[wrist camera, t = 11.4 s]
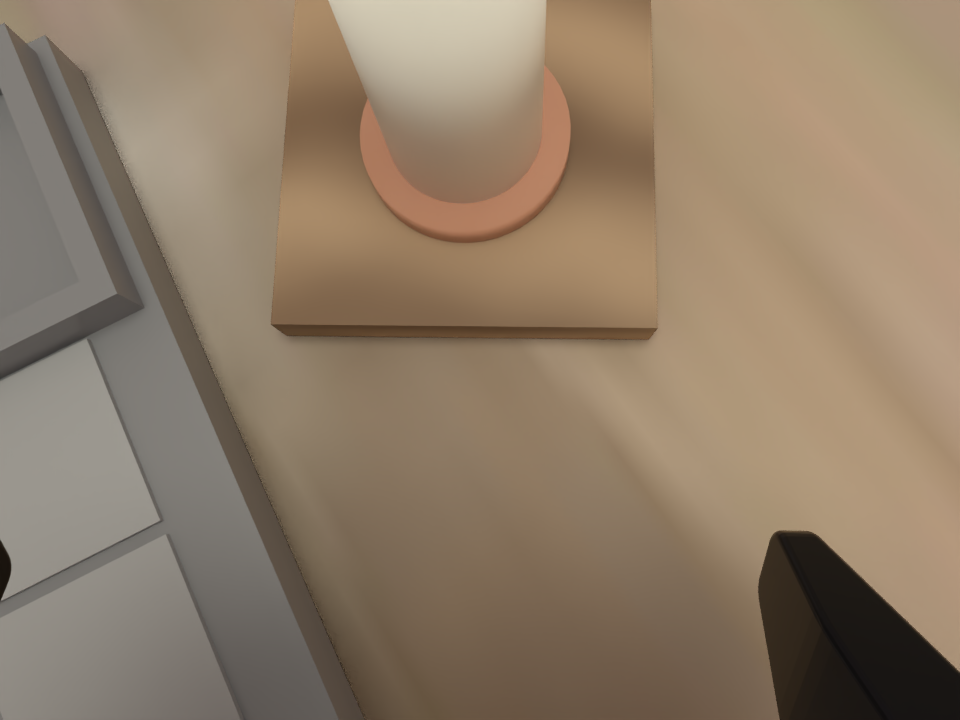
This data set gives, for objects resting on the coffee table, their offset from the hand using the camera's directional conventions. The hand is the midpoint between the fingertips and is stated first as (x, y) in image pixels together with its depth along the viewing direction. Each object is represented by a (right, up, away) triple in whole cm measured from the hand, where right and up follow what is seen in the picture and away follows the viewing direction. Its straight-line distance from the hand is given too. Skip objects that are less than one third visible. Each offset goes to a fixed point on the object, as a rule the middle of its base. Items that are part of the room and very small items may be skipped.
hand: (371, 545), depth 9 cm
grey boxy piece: (-11, -1, +14) cm, 18 cm away
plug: (+1, +8, +14) cm, 16 cm away
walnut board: (+1, +8, +15) cm, 17 cm away
